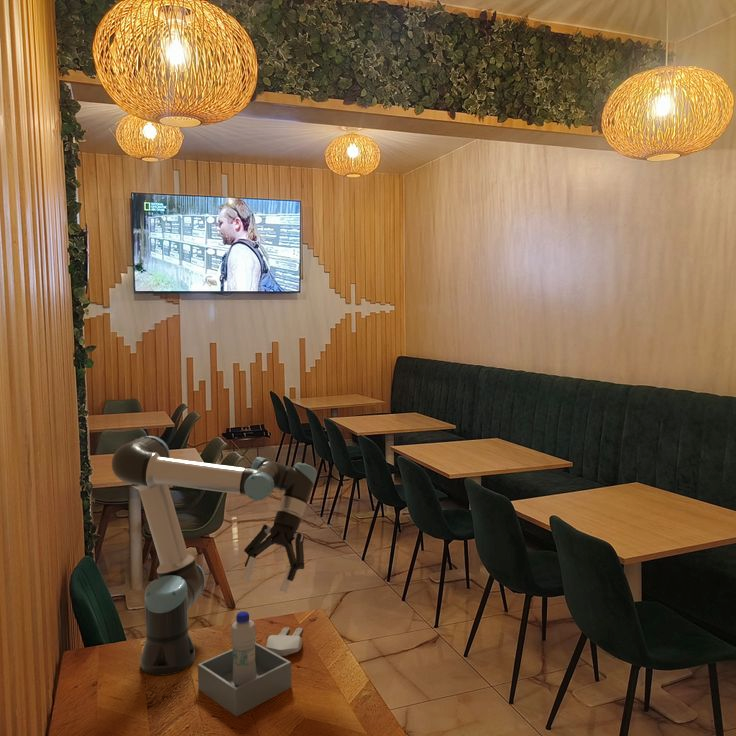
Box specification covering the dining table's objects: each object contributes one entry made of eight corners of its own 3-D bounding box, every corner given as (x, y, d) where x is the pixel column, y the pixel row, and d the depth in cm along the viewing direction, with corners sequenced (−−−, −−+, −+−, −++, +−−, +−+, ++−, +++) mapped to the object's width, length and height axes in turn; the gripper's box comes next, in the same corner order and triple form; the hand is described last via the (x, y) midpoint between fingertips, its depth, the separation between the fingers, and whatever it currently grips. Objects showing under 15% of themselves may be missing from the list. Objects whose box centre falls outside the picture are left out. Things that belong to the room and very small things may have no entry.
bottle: (251, 692, 167) (249, 619, 166) (228, 690, 168) (225, 617, 167) (261, 678, 174) (259, 607, 172) (238, 676, 175) (235, 605, 174)
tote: (198, 689, 171) (197, 664, 170) (252, 663, 183) (251, 640, 183) (236, 716, 159) (235, 689, 158) (291, 687, 171) (290, 662, 171)
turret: (308, 637, 203) (309, 622, 204) (296, 660, 184) (297, 643, 184) (278, 636, 204) (278, 621, 205) (263, 659, 185) (263, 642, 185)
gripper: (330, 526, 187) (305, 599, 178) (263, 510, 199) (237, 578, 190) (318, 518, 181) (292, 593, 172) (250, 502, 193) (223, 572, 185)
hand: (263, 585), depth 181 cm, fingers open, 13 cm apart
